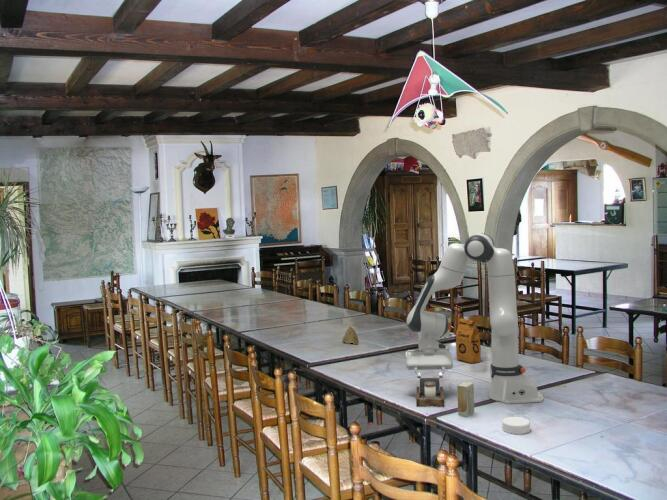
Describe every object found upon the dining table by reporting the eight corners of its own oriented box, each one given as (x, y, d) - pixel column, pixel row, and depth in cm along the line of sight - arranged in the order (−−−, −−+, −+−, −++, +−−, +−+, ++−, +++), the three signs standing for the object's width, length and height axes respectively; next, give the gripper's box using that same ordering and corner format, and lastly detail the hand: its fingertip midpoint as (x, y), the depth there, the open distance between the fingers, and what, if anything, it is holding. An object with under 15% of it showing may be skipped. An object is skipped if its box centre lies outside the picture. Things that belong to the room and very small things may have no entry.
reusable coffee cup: (431, 338, 398) (431, 314, 397) (432, 334, 410) (431, 310, 409) (452, 338, 396) (452, 314, 395) (452, 334, 408) (451, 310, 407)
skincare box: (465, 410, 263) (464, 381, 262) (474, 412, 260) (474, 382, 259) (457, 415, 258) (456, 384, 257) (467, 417, 255) (466, 386, 254)
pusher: (439, 390, 290) (438, 375, 290) (439, 394, 285) (439, 378, 285) (420, 390, 291) (419, 375, 291) (420, 394, 286) (419, 378, 286)
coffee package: (469, 364, 333) (468, 322, 332) (453, 360, 344) (452, 319, 342) (484, 361, 338) (483, 320, 337) (468, 357, 349) (467, 316, 347)
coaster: (534, 434, 236) (534, 424, 235) (507, 435, 235) (507, 426, 234) (524, 424, 245) (524, 415, 245) (498, 426, 245) (498, 417, 244)
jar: (436, 400, 277) (435, 381, 276) (436, 404, 272) (435, 384, 272) (424, 400, 278) (424, 381, 277) (424, 404, 273) (424, 384, 272)
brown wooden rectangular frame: (442, 393, 287) (442, 386, 287) (444, 406, 269) (444, 399, 269) (416, 393, 289) (416, 386, 288) (416, 406, 271) (416, 399, 270)
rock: (363, 340, 390) (358, 335, 399) (355, 330, 387) (350, 325, 396) (349, 352, 389) (344, 346, 398) (341, 342, 386) (336, 336, 395)
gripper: (404, 346, 287) (405, 373, 278) (451, 345, 285) (453, 373, 276) (405, 353, 292) (405, 381, 283) (451, 353, 289) (453, 380, 280)
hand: (429, 377), depth 279 cm, fingers open, 8 cm apart
